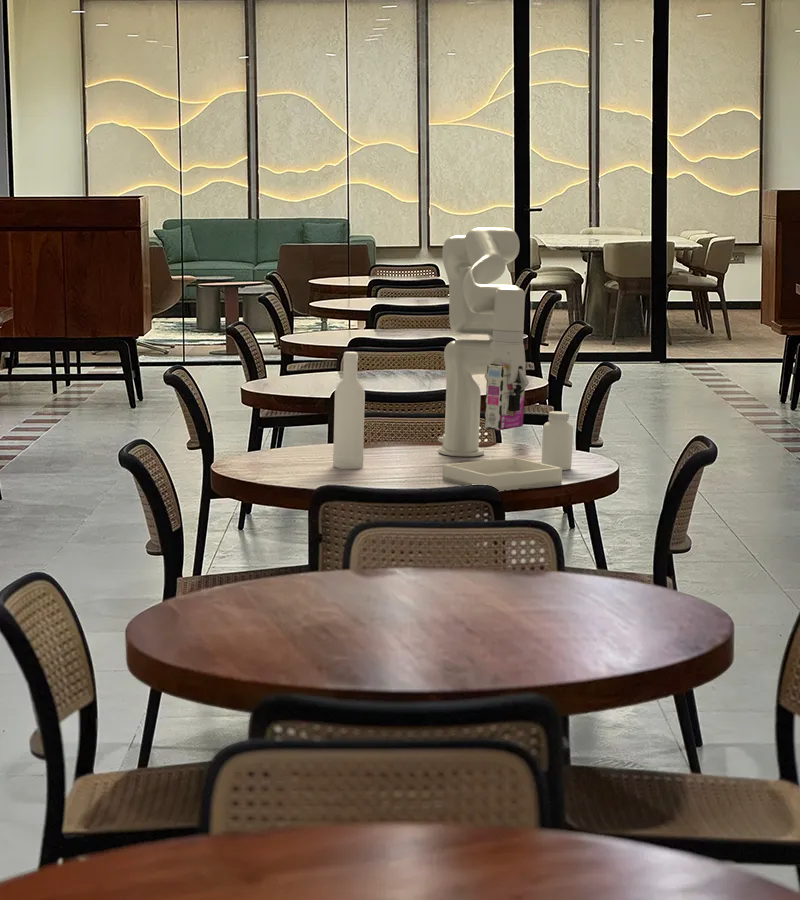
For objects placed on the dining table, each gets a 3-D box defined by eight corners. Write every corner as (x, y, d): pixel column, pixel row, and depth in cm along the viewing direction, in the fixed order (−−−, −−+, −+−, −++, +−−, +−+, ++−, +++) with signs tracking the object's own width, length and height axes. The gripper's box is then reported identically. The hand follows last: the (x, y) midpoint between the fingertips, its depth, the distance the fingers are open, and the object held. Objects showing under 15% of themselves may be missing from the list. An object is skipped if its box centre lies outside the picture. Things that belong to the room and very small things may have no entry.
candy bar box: (500, 431, 388) (503, 365, 385) (483, 429, 391) (486, 363, 388) (524, 426, 397) (527, 361, 394) (508, 424, 400) (510, 360, 397)
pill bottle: (571, 466, 422) (573, 411, 419) (571, 471, 414) (574, 415, 411) (541, 465, 422) (543, 409, 420) (541, 470, 414) (543, 413, 412)
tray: (442, 480, 396) (443, 464, 395) (514, 472, 410) (514, 457, 410) (489, 492, 382) (489, 476, 381) (561, 483, 396) (562, 468, 396)
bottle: (367, 465, 413) (370, 351, 408) (356, 470, 406) (360, 354, 401) (339, 463, 416) (341, 350, 411) (328, 467, 409) (330, 352, 404)
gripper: (474, 334, 394) (471, 405, 397) (519, 341, 381) (516, 414, 384) (496, 333, 399) (494, 404, 402) (542, 340, 386) (539, 412, 388)
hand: (505, 408), depth 393 cm, fingers closed on candy bar box, 6 cm apart
